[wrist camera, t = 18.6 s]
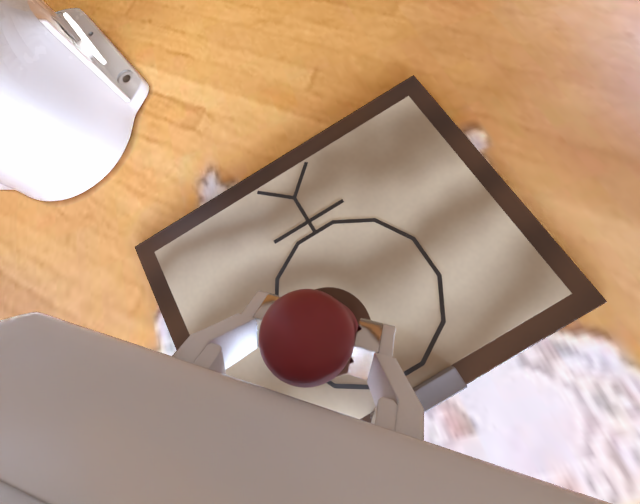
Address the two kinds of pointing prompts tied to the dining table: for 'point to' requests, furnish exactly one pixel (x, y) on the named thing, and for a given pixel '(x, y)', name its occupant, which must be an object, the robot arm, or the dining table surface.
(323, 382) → the dot stamp
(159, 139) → the dining table surface
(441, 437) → the dining table surface
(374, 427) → the robot arm
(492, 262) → the drawing board
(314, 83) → the dining table surface
